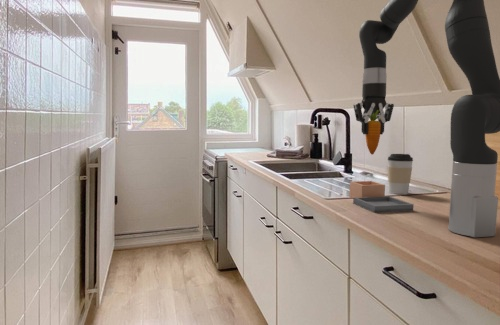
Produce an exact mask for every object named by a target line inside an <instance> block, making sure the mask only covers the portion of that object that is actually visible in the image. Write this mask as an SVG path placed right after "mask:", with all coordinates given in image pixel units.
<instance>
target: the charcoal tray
mask: <svg viewBox="0 0 500 325" xmlns="http://www.w3.org/2000/svg"><path fill="white" fill-rule="evenodd" d="M352 199H353V202H352V204H353V205H356V206H358V207H360V208H363V209H365V210H367V211H369V212H371V213H377V214H379V213H380V214H381V213H398V212H399V213H400V212H413V211H414V203H410V202H407V201H404V200H401V199H398V198H395V197H393V196H389V195H388V196H387V195H385V196H380V197H355V198H352Z"/></svg>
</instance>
